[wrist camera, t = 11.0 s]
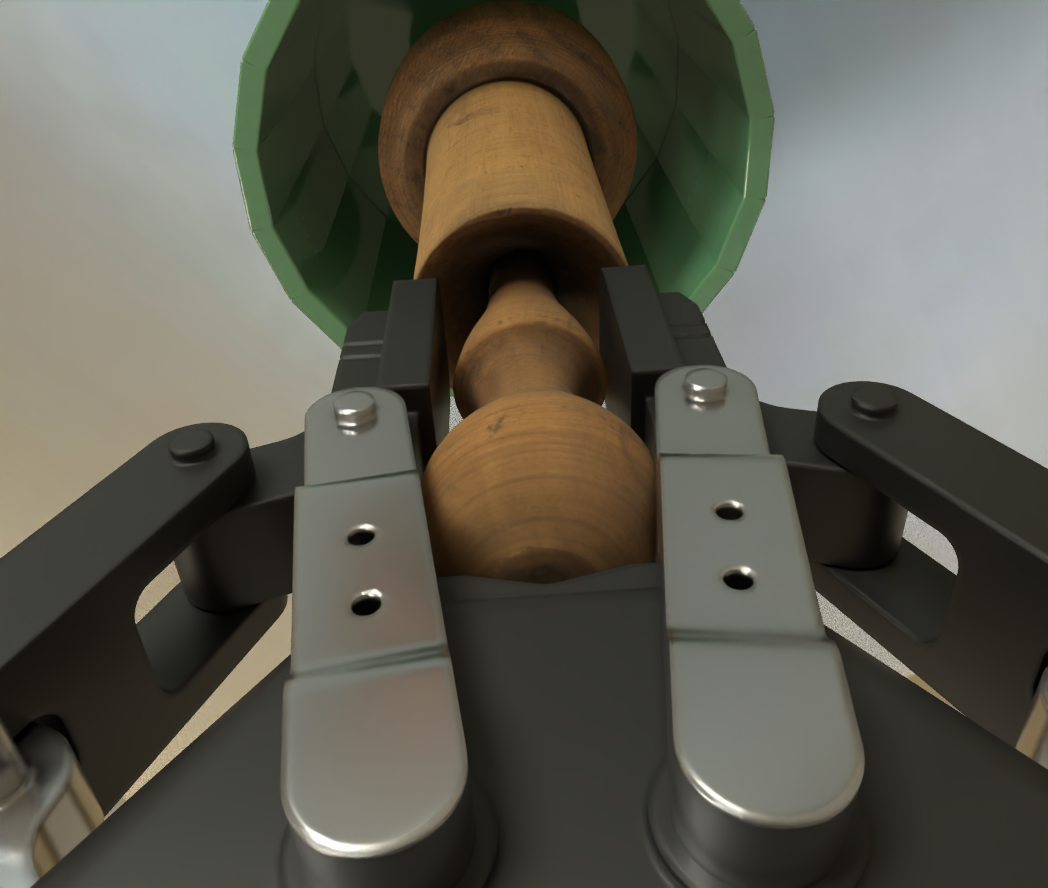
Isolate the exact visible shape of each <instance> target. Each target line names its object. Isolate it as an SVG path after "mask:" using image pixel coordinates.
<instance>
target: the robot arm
mask: <svg viewBox="0 0 1048 888" xmlns="http://www.w3.org/2000/svg"><path fill="white" fill-rule="evenodd" d="M343 344H344V347H342V351H341V355H340V360H339V364H338V368H337V372H336V376H335V380H334V384H333V388H332V392H331V394H328V395H326V396H324V397H322V398H321V399H319V400H317V401H316V402H315V403H314V404H313V405H311V407H310V408H309V409H308V410H307V412H306V414H305V431H304V432H302V433H300V434H298V435H296V436H294V437H291V438H288V439H285V440H282V441H279V442H275V443H271V444H267V445H263V446H259V447H255V448H251V449H250V448H249V444H248V440H247V437H246V435H245V434H244V432H243V431H241V430H240V429H239V428H237V427H235V426H232V425H228V424H223V423H200V424H194V425H189V426H185V427H182V428H179V429H175V430H173V431H171V432H168V433H166V434H164V435H162V436H160V437H159V438H157V439H156V440H154V441H153V442H151V443H150V444H149V445H148V446H146V447H145V448H144V449H142V450H141V451H140V452H138V453H137V454H136V455H135V456H133V457H132V458H131V459H129V460H128V461H127V462H125V463H124V464H123V465H122V466H120V467H119V468H118V469H116V470H115V471H114V472H112V473H111V474H110V475H109V476H107V477H106V478H105V479H103V480H102V481H101V482H99V483H98V484H97V485H96V486H94V487H93V488H92V489H90V490H89V491H88V492H86V493H85V494H84V495H83V496H81V497H80V498H79V499H77V500H76V501H75V502H73V503H72V504H71V505H69V506H68V507H67V508H66V509H64V510H63V511H62V512H60V513H59V514H58V515H56V516H55V517H54V518H53V519H51V520H50V521H49V522H47V523H46V524H45V525H43V526H42V527H41V528H40V529H38V530H37V531H36V532H34V533H33V534H32V535H30V536H29V537H28V538H27V539H25V540H24V541H23V542H21V543H20V544H19V545H17V546H16V547H15V548H14V549H12V550H11V551H10V552H8V553H7V554H6V555H4V556H3V557H2V558H1V559H0V888H1048V469H1047V468H1045V467H1043V466H1042V465H1040V464H1038V463H1036V462H1034V461H1033V460H1031V459H1029V458H1027V457H1025V456H1024V455H1022V454H1020V453H1018V452H1016V451H1015V450H1013V449H1011V448H1009V447H1007V446H1006V445H1004V444H1002V443H1000V442H998V441H997V440H995V439H993V438H991V437H989V436H988V435H986V434H984V433H982V432H980V431H979V430H977V429H975V428H973V427H971V426H970V425H968V424H966V423H964V422H962V421H961V420H959V419H957V418H955V417H953V416H952V415H950V414H948V413H946V412H944V411H943V410H941V409H939V408H937V407H935V406H934V405H932V404H930V403H928V402H926V401H925V400H923V399H921V398H919V397H917V396H916V395H914V394H912V393H910V392H908V391H906V390H904V389H901V388H898V387H896V386H892V385H888V384H884V383H878V382H869V381H856V382H847V383H842V384H838V385H835V386H833V387H831V388H829V389H827V390H826V391H824V392H823V393H822V395H821V396H820V398H819V402H818V408H817V412H816V411H807V410H799V409H790V408H783V407H777V406H773V405H769V404H766V403H763V402H760V401H759V399H758V394H757V389H756V387H755V385H754V383H753V382H752V381H751V380H750V379H749V378H748V377H747V376H745V375H743V374H742V373H740V372H737V371H735V370H732V369H729V368H727V367H726V365H725V363H724V361H723V358H722V356H721V354H720V352H719V350H718V348H717V345H716V343H715V341H714V339H713V337H712V336H711V332H710V330H709V328H708V326H707V324H706V323H705V320H704V317H703V315H702V313H701V311H700V309H699V307H698V305H697V304H696V303H694V302H693V301H691V300H690V299H688V298H687V297H686V296H684V295H683V294H681V293H680V292H667V293H656V291H655V288H654V286H653V283H652V281H651V278H650V275H649V273H648V270H647V268H646V266H645V265H634V266H619V267H603V268H601V269H600V275H599V353H600V355H601V357H602V359H603V362H604V365H605V369H606V375H607V389H606V395H605V404H606V408H607V410H608V411H610V412H611V413H613V414H614V415H616V416H617V417H619V418H620V419H621V420H622V421H624V422H625V423H626V424H627V425H628V426H629V427H630V428H632V429H633V430H634V432H635V433H636V434H637V435H638V436H639V437H640V438H641V440H642V441H643V442H644V444H645V445H646V446H647V448H648V449H649V451H650V453H651V454H652V456H653V458H654V460H655V479H656V535H655V560H654V563H640V564H628V565H624V566H620V567H616V568H612V569H608V570H605V571H601V572H597V573H593V574H589V575H585V576H581V577H577V578H573V579H569V580H566V581H562V582H558V583H553V584H537V583H528V582H519V581H510V580H501V579H492V578H484V577H475V576H466V575H463V576H448V577H436V573H435V567H434V562H433V556H432V550H431V544H430V538H429V532H428V526H427V521H426V515H425V509H424V503H423V497H422V491H421V485H420V483H421V479H422V476H423V474H424V471H425V469H426V466H427V464H428V462H429V460H430V458H431V456H432V455H433V453H434V451H435V450H436V449H437V447H438V446H439V445H440V443H441V442H442V441H443V439H444V438H445V437H446V436H447V434H448V433H449V417H450V381H449V368H448V358H447V348H446V339H445V330H444V321H443V311H442V302H441V293H440V285H439V280H438V278H428V279H413V280H397V281H393V286H392V292H391V298H390V304H389V310H384V311H369V312H363V313H362V314H361V315H360V316H359V317H358V318H357V319H356V320H355V321H353V322H352V323H351V324H350V325H349V326H348V327H347V331H346V335H345V339H344V343H343ZM908 511H909V512H911V513H912V514H914V515H915V516H917V517H918V518H920V519H921V520H923V521H924V522H926V523H927V524H929V525H930V526H932V527H933V528H935V529H936V530H938V531H939V532H940V533H942V534H943V535H944V536H945V537H946V538H947V539H948V541H949V542H950V543H951V545H952V546H953V548H954V550H955V552H956V555H957V558H958V573H957V576H956V575H955V574H954V573H952V572H951V571H949V570H948V569H947V568H945V567H944V566H942V565H941V564H939V563H938V562H937V561H935V560H934V559H932V558H931V557H930V556H928V555H927V554H925V553H924V552H923V551H921V550H920V549H918V548H917V547H916V546H914V545H913V544H911V543H910V542H908V541H907V540H906V539H904V538H903V537H902V535H903V530H904V526H905V522H906V517H907V513H908ZM173 560H174V562H175V565H176V568H177V571H178V574H179V577H180V580H181V582H180V583H179V584H178V585H177V586H175V587H174V588H173V589H172V590H171V591H170V592H169V593H168V594H167V595H166V596H165V597H164V598H163V599H162V600H161V601H160V602H159V603H158V604H157V605H156V606H155V607H154V608H153V609H152V610H151V611H150V612H149V613H148V614H146V615H145V616H144V617H143V618H142V619H141V620H140V621H139V622H138V623H137V624H135V608H136V604H137V601H138V599H139V597H140V595H141V593H142V591H143V590H144V588H145V587H146V586H147V585H148V584H149V583H150V582H151V581H152V580H153V579H154V578H155V577H156V576H157V575H158V574H159V573H161V572H162V571H163V570H164V569H165V568H166V567H167V566H168V565H169V564H170V563H171V562H172V561H173ZM815 590H816V591H817V592H819V593H820V594H821V595H822V596H823V597H824V598H826V599H827V600H828V601H829V602H830V603H832V604H833V605H834V606H835V607H836V608H838V609H839V610H840V611H841V612H842V613H844V614H845V615H846V616H847V617H848V618H850V619H851V620H852V621H853V622H854V623H855V624H857V625H858V626H859V627H860V628H861V629H863V630H864V631H865V632H866V633H867V634H869V635H870V636H871V637H872V638H873V639H875V640H876V641H877V642H878V643H879V644H880V645H882V646H883V647H884V648H885V649H886V650H888V651H889V652H890V653H891V654H892V655H894V656H895V657H896V658H897V659H898V660H900V661H901V662H902V663H903V664H904V665H905V666H907V667H908V668H909V669H910V670H911V671H913V672H914V673H915V674H916V675H917V676H919V677H920V678H921V679H922V680H923V681H925V682H926V683H927V684H928V685H929V686H930V687H932V688H933V689H934V690H936V692H938V693H939V694H940V695H941V696H943V697H944V698H945V699H946V700H947V701H948V702H950V703H951V704H952V705H953V706H954V707H956V708H957V709H958V710H959V711H960V712H961V713H963V714H964V715H965V716H964V715H963V714H961V713H960V712H958V711H957V710H955V709H953V708H952V707H950V706H949V705H947V704H946V703H944V702H943V701H941V700H939V699H938V698H936V697H935V696H933V695H932V694H930V693H929V692H927V691H926V690H924V689H923V688H921V687H919V686H918V685H916V684H915V683H913V682H912V681H910V680H909V679H907V678H906V677H904V676H902V675H901V674H899V673H898V672H896V671H895V670H893V669H892V668H890V667H889V666H887V665H885V664H884V663H882V662H881V661H879V660H878V659H876V658H875V657H873V656H872V655H870V654H869V653H867V652H865V651H864V650H862V649H861V648H859V647H858V646H856V645H855V644H853V643H852V642H850V641H848V640H847V639H845V638H844V637H842V636H841V635H839V634H838V633H836V632H835V631H833V630H831V629H830V628H828V627H827V626H825V625H824V624H823V621H822V617H821V612H820V608H819V604H818V599H817V595H816V591H815ZM290 593H292V632H291V654H290V655H289V656H288V657H287V658H286V659H285V660H284V661H283V662H281V663H280V664H279V665H278V666H277V667H276V668H275V669H274V670H272V671H271V672H270V673H269V674H268V675H267V676H266V677H265V678H264V679H262V680H261V681H260V682H259V683H258V684H257V685H256V686H255V687H253V688H252V689H251V690H250V691H249V692H248V693H247V694H246V695H245V696H243V697H242V698H241V699H240V700H239V701H238V702H237V703H236V704H234V705H233V706H232V707H231V708H230V709H229V710H228V711H227V712H226V713H224V714H223V715H222V716H221V717H220V718H219V719H218V720H217V721H215V722H214V723H213V724H212V725H211V726H210V727H209V728H208V729H207V730H205V731H204V732H203V733H202V734H201V735H200V736H199V737H198V738H196V739H195V740H194V741H193V742H192V743H191V744H190V745H189V746H188V747H186V748H185V749H184V750H183V751H182V752H181V753H180V754H179V755H177V756H176V757H175V758H174V759H173V760H172V761H171V762H170V763H168V764H167V765H166V766H165V767H164V768H163V769H162V770H161V771H160V772H158V773H157V774H156V775H155V776H154V777H153V778H152V779H151V780H149V781H148V782H147V783H146V784H145V785H144V786H143V787H142V788H141V789H139V790H138V791H137V792H136V793H135V794H134V795H133V796H132V797H130V798H129V799H128V800H127V801H126V802H125V803H124V804H123V805H122V806H120V807H119V808H118V809H117V810H116V811H115V812H114V813H113V814H111V815H110V816H109V817H108V818H107V819H106V820H105V821H104V817H105V816H106V815H107V814H108V813H109V811H110V810H111V809H112V808H113V807H114V806H115V804H116V803H117V802H118V801H119V800H120V799H121V798H122V797H123V795H124V794H125V793H126V792H127V791H128V790H129V789H130V787H131V786H132V785H133V784H134V783H135V782H136V780H137V779H138V778H139V777H140V776H141V775H142V774H143V772H144V771H145V770H146V769H147V768H148V767H149V766H150V764H151V763H152V762H153V761H154V760H155V759H156V758H157V756H158V755H159V754H160V753H161V752H162V751H163V750H164V748H165V747H166V746H167V745H168V744H169V743H170V742H171V740H172V739H173V738H174V737H175V736H176V735H177V734H178V732H179V731H180V730H181V729H182V728H183V727H184V725H185V724H186V723H187V722H188V721H189V720H190V719H191V717H192V716H193V715H194V714H195V713H196V712H197V711H198V709H199V708H200V707H201V706H202V705H203V704H204V703H205V701H206V700H207V699H208V698H209V697H210V696H211V695H212V693H213V692H214V691H215V690H216V689H217V688H218V687H219V685H220V684H221V683H222V682H223V681H224V680H225V678H226V677H227V676H228V675H229V674H230V673H231V672H232V670H233V669H234V668H235V667H236V666H237V665H238V664H239V662H240V661H241V660H242V659H243V658H244V657H245V656H246V654H247V653H248V652H249V651H250V650H251V649H252V648H253V646H254V645H255V644H256V643H257V642H258V641H259V640H260V638H261V637H262V636H263V635H264V634H265V633H266V631H267V630H268V629H269V628H270V627H271V626H272V625H273V623H274V622H275V621H276V620H277V619H278V618H279V616H280V615H281V614H282V612H283V611H284V609H285V607H286V604H287V594H290Z"/></svg>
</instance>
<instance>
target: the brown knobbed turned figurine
mask: <svg viewBox="0 0 1048 888" xmlns="http://www.w3.org/2000/svg"><path fill="white" fill-rule="evenodd" d="M378 156H379V168H380V174H381V178H382V182H383V186H384V189H385V193H386V195H387V198H388V200H389V203H390V205H391V207H392V209H393V211H394V213H395V215H396V217H397V218H398V220H399V221H400V223H401V224H402V226H403V227H404V228H405V230H406V231H407V232H408V234H409V235H410V236H411V237H412V238H413V239H414V240H415V241H416V242H417V243H418V244H419V245H418V253H417V259H416V266H415V272H414V279H428V278H438V280H439V285H440V293H441V302H442V311H443V321H444V330H445V339H446V348H447V358H448V368H449V381H450V389H452V390H453V392H454V398H455V402H456V406H457V408H458V410H459V412H460V414H461V416H462V418H463V419H464V420H462V421H461V422H460V423H459V424H458V425H457V426H455V427H454V428H453V429H452V430H451V431H450V432H449V433H448V434H447V436H446V437H445V438H444V439H443V441H442V442H441V443H440V445H439V446H438V447H437V449H436V450H435V451H434V453H433V455H432V456H431V458H430V460H429V462H428V464H427V466H426V469H425V471H424V474H423V476H422V479H421V483H420V485H421V491H422V497H423V503H424V509H425V515H426V521H427V526H428V532H429V538H430V544H431V550H432V556H433V562H434V567H435V573H436V577H448V576H463V575H466V576H475V577H484V578H492V579H501V580H510V581H519V582H528V583H537V584H553V583H558V582H562V581H566V580H569V579H573V578H577V577H581V576H585V575H589V574H593V573H597V572H601V571H605V570H608V569H612V568H616V567H620V566H624V565H628V564H640V563H654V560H655V535H656V479H655V460H654V458H653V456H652V454H651V453H650V451H649V449H648V448H647V446H646V445H645V444H644V442H643V441H642V440H641V438H640V437H639V436H638V435H637V434H636V433H635V432H634V430H633V429H632V428H630V427H629V426H628V425H627V424H626V423H625V422H624V421H622V420H621V419H620V418H619V417H617V416H616V415H614V414H613V413H611V412H610V411H608V410H607V409H605V408H604V407H602V404H603V402H604V399H605V395H606V389H607V375H606V369H605V365H604V362H603V359H602V357H601V355H600V353H599V275H600V269H601V268H603V267H619V266H628V263H627V261H626V258H625V255H624V252H623V250H622V247H621V244H620V241H619V238H618V235H617V233H616V230H615V227H614V224H613V219H614V218H615V216H616V215H617V213H618V212H619V210H620V208H621V206H622V204H623V202H624V200H625V198H626V196H627V193H628V191H629V188H630V185H631V182H632V179H633V175H634V171H635V165H636V159H637V126H636V119H635V114H634V110H633V107H632V103H631V100H630V97H629V94H628V92H627V89H626V87H625V85H624V83H623V81H622V79H621V77H620V75H619V72H618V70H617V68H616V66H615V64H614V63H613V61H612V59H611V58H610V56H609V54H608V53H607V51H606V50H605V49H604V47H603V46H602V45H601V44H600V42H599V41H598V40H597V39H596V38H595V37H594V36H593V35H592V34H591V33H590V32H589V31H588V30H587V29H586V28H585V27H584V26H582V25H581V24H580V23H578V22H577V21H575V20H574V19H573V18H571V17H569V16H568V15H566V14H564V13H562V12H560V11H558V10H555V9H553V8H550V7H547V6H544V5H541V4H537V3H533V2H527V1H519V0H497V1H489V2H484V3H479V4H475V5H471V6H468V7H466V8H463V9H460V10H458V11H456V12H454V13H452V14H450V15H448V16H446V17H445V18H443V19H441V20H440V21H438V22H437V23H436V24H434V25H433V26H432V27H430V28H429V29H428V30H427V31H426V32H425V33H424V34H423V35H422V36H421V37H420V38H419V39H418V40H417V41H416V42H415V43H414V44H413V46H412V47H411V48H410V49H409V51H408V52H407V54H406V55H405V57H404V58H403V60H402V61H401V63H400V65H399V67H398V68H397V70H396V73H395V75H394V77H393V79H392V82H391V84H390V87H389V90H388V93H387V97H386V101H385V105H384V110H383V114H382V118H381V123H380V130H379V140H378Z"/></svg>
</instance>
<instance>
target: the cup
mask: <svg viewBox="0 0 1048 888" xmlns="http://www.w3.org/2000/svg"><path fill="white" fill-rule="evenodd" d="M489 1H497V0H268V2H267V4H266V7H265V9H264V11H263V13H262V15H261V17H260V20H259V22H258V24H257V26H256V28H255V30H254V33H253V35H252V37H251V39H250V41H249V43H248V45H247V48H246V50H245V52H244V54H243V57H242V59H243V60H242V61H241V66H240V76H239V85H238V95H237V105H236V115H235V125H234V135H233V148H234V149H233V154H234V158H235V163H236V167H237V172H238V176H239V181H240V186H241V190H242V195H243V199H244V204H245V208H246V213H247V217H248V222H249V226H250V229H251V230H252V234H253V236H254V238H255V239H256V241H257V243H258V245H259V246H260V248H261V250H262V252H263V253H264V255H265V257H266V259H267V260H268V262H269V264H270V266H271V267H272V269H273V271H274V273H275V274H276V276H277V278H278V280H279V281H280V283H281V285H282V287H283V288H284V290H285V292H286V294H287V295H288V297H289V299H290V300H292V302H293V303H294V304H295V305H296V306H297V307H298V308H299V309H300V310H301V311H302V312H303V313H304V314H305V315H306V316H307V317H308V318H309V319H310V320H311V321H312V322H313V323H315V324H316V325H317V326H318V327H319V328H320V329H321V330H322V331H323V332H324V333H325V334H326V335H327V336H328V337H329V338H330V339H331V340H332V341H333V342H335V343H336V344H337V345H338V346H339V347H340V348H341V349H342V347H344V344H343V343H344V339H345V335H346V331H347V327H348V326H349V325H350V324H351V323H352V322H353V321H355V320H356V319H357V318H358V317H359V316H360V315H361V314H362V313H363V312H369V311H384V310H389V304H390V298H391V292H392V286H393V281H397V280H413V279H414V272H415V266H416V259H417V253H418V245H419V244H418V243H417V242H416V241H415V240H414V239H413V238H412V237H411V236H410V235H409V234H408V232H407V231H406V230H405V228H404V227H403V226H402V224H401V223H400V221H399V220H398V218H397V217H396V215H395V213H394V211H393V209H392V207H391V205H390V203H389V200H388V198H387V195H386V193H385V189H384V186H383V182H382V178H381V174H380V168H379V156H378V140H379V130H380V123H381V118H382V114H383V110H384V105H385V101H386V97H387V93H388V90H389V87H390V84H391V82H392V79H393V77H394V75H395V73H396V70H397V68H398V67H399V65H400V63H401V61H402V60H403V58H404V57H405V55H406V54H407V52H408V51H409V49H410V48H411V47H412V46H413V44H414V43H415V42H416V41H417V40H418V39H419V38H420V37H421V36H422V35H423V34H424V33H425V32H426V31H427V30H428V29H429V28H430V27H432V26H433V25H434V24H436V23H437V22H438V21H440V20H441V19H443V18H445V17H446V16H448V15H450V14H452V13H454V12H456V11H458V10H460V9H463V8H466V7H468V6H471V5H475V4H479V3H484V2H489ZM519 1H527V2H533V3H537V4H541V5H544V6H547V7H550V8H553V9H555V10H558V11H560V12H562V13H564V14H566V15H568V16H569V17H571V18H573V19H574V20H575V21H577V22H578V23H580V24H581V25H582V26H584V27H585V28H586V29H587V30H588V31H589V32H590V33H591V34H592V35H593V36H594V37H595V38H596V39H597V40H598V41H599V42H600V44H601V45H602V46H603V47H604V49H605V50H606V51H607V53H608V54H609V56H610V58H611V59H612V61H613V63H614V64H615V66H616V68H617V70H618V72H619V75H620V77H621V79H622V81H623V83H624V85H625V87H626V89H627V92H628V94H629V97H630V100H631V103H632V107H633V110H634V114H635V119H636V126H637V159H636V165H635V171H634V175H633V179H632V182H631V185H630V188H629V191H628V193H627V196H626V198H625V200H624V202H623V204H622V206H621V208H620V210H619V212H618V213H617V215H616V216H615V218H614V219H613V224H614V227H615V230H616V233H617V235H618V238H619V241H620V244H621V247H622V250H623V252H624V255H625V258H626V261H627V263H628V266H634V265H645V266H646V268H647V270H648V273H649V275H650V278H651V281H652V283H653V286H654V288H655V291H656V293H667V292H680V293H681V294H683V295H684V296H686V297H687V298H688V299H690V300H691V301H693V302H694V303H696V304H697V305H698V307H699V309H700V311H701V313H703V311H704V310H705V309H706V308H707V307H708V305H709V304H710V303H711V302H712V300H713V299H714V298H715V297H716V296H717V294H718V293H719V292H720V291H721V289H722V288H723V287H724V286H725V285H726V283H727V282H728V281H729V280H730V279H731V277H732V276H733V274H734V272H735V271H736V269H737V267H738V265H739V262H740V260H741V258H742V255H743V253H744V251H745V248H746V246H747V243H748V241H749V239H750V236H751V234H752V232H753V229H754V227H755V225H756V222H757V220H758V217H759V215H760V213H761V210H762V208H763V206H764V203H765V198H766V196H767V188H768V178H769V168H770V159H771V149H772V139H773V129H774V119H775V118H774V116H773V115H774V108H773V104H772V99H771V95H770V90H769V86H768V81H767V76H766V72H765V67H764V63H763V58H762V54H761V49H760V44H759V40H758V35H757V31H756V30H755V27H754V24H753V23H752V21H751V20H750V18H749V16H748V15H747V13H746V11H745V10H744V8H743V6H742V5H741V3H740V1H739V0H519ZM450 396H452V397H454V392H453V390H452V389H450Z"/></svg>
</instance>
